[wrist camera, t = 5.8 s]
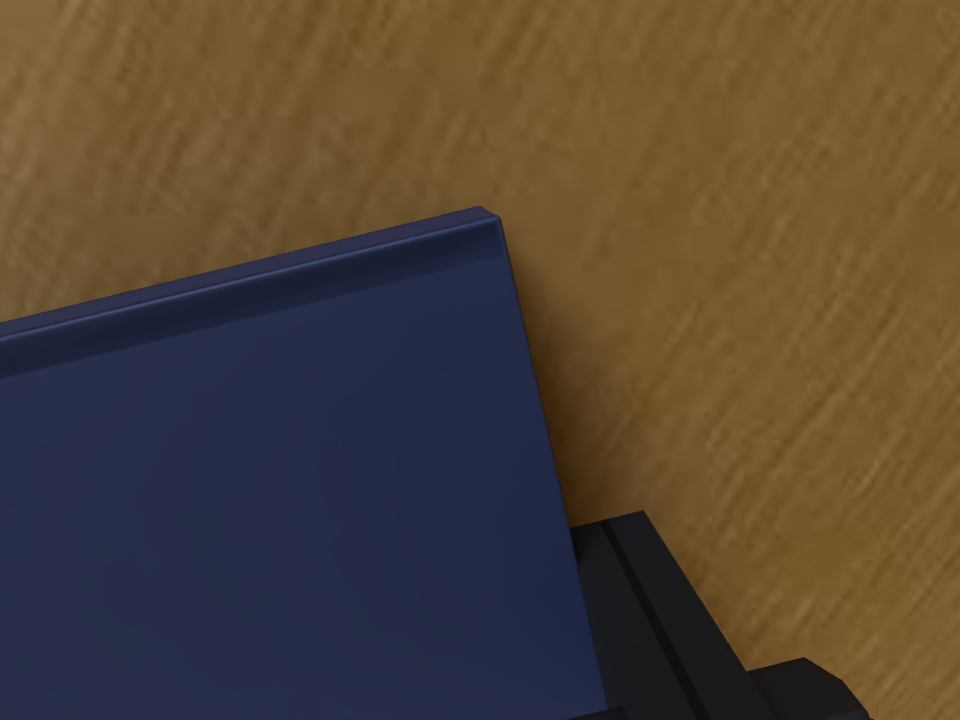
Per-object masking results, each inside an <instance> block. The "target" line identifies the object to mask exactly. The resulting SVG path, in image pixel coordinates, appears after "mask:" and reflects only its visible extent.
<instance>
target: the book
mask: <svg viewBox="0 0 960 720" xmlns="http://www.w3.org/2000/svg"><path fill="white" fill-rule="evenodd" d="M607 709H609V706H608V701H607V697H606V692H605V688H604V683H603V679H602V674H601V670H600V666H599V661H598V657H597V652H596V648H595V643H594V639H593V634H592V630H591V625H590V621H589V616H588V612H587V608H586V603H585V599H584V594H583V590H582V585H581V581H580V576H579V572H578V562H577V558H576V553H575V549H574V544H573V540H572V535H571V531H570V526H569V522H568V517H567V513H566V509H565V504H564V500H563V495H562V491H561V486H560V482H559V477H558V473H557V468H556V464H555V459H554V455H553V450H552V446H551V441H550V437H549V432H548V428H547V424H546V419H545V415H544V410H543V406H542V401H541V397H540V392H539V388H538V383H537V379H536V374H535V370H534V365H533V361H532V356H531V352H530V348H529V343H528V339H527V334H526V330H525V325H524V321H523V316H522V312H521V307H520V303H519V298H518V294H517V289H516V285H515V280H514V276H513V271H512V267H511V263H510V258H509V254H508V249H507V245H506V240H505V236H504V231H503V227H502V222H501V219H500V217H499V216H497V215H494V214H492V213H491V212H489V211H487V210H485V209H484V208H483V207H482V206H477V207H473V208H469V209H465V210H461V211H457V212H452V213H448V214H444V215H440V216H436V217H432V218H428V219H424V220H420V221H416V222H411V223H407V224H403V225H399V226H395V227H391V228H387V229H383V230H379V231H375V232H371V233H366V234H362V235H358V236H354V237H350V238H346V239H342V240H338V241H334V242H330V243H325V244H321V245H317V246H313V247H309V248H305V249H301V250H297V251H293V252H289V253H284V254H280V255H276V256H272V257H268V258H264V259H260V260H256V261H252V262H248V263H244V264H239V265H235V266H231V267H227V268H223V269H219V270H215V271H211V272H207V273H203V274H198V275H194V276H190V277H186V278H182V279H178V280H174V281H170V282H166V283H162V284H157V285H153V286H149V287H145V288H141V289H137V290H133V291H129V292H125V293H121V294H116V295H112V296H108V297H104V298H100V299H96V300H92V301H88V302H84V303H80V304H76V305H71V306H67V307H63V308H59V309H55V310H51V311H47V312H43V313H39V314H35V315H30V316H26V317H22V318H18V319H14V320H10V321H6V322H2V323H0V720H567V719H571V718H575V717H579V716H583V715H587V714H591V713H595V712H599V711H603V710H607Z"/></svg>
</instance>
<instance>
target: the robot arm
mask: <svg viewBox="0 0 960 720" xmlns="http://www.w3.org/2000/svg"><path fill="white" fill-rule="evenodd" d="M570 531H571V535H572V540H573V544H574V549H575V553H576V558H577V562H578V572H579V576H580V581H581V585H582V590H583V594H584V599H585V603H586V608H587V612H588V616H589V621H590V625H591V630H592V634H593V639H594V643H595V648H596V652H597V657H598V661H599V666H600V670H601V674H602V679H603V683H604V688H605V692H606V697H607V701H608V706H609V709H607V710H603V711H599V712H595V713H591V714H587V715H583V716H579V717H575V718H571V719H567V720H874V719H870V717H869V715H868V712H867V711H866V709H865V708H864V707H863V706H862V704H861V703H860V702H859V701H858V700H857V698H856V697H855V696H854V695H853V693H852V692H851V691H850V690H849V689H848V687H847V686H846V685H845V684H844V682H843V681H842V680H841V679H839V678H837V677H836V676H834V675H832V674H831V673H829V672H827V671H826V670H824V669H823V668H821V667H819V666H818V665H816V664H814V663H813V662H811V661H809V660H808V659H806V658H804V657H803V658H799V659H795V660H791V661H787V662H783V663H779V664H775V665H771V666H767V667H763V668H759V669H755V670H751V671H747V672H746V670H745V669H744V667H743V665H742V664H741V662H740V661H739V659H738V658H737V656H736V655H735V653H734V651H733V650H732V648H731V647H730V645H729V644H728V642H727V640H726V639H725V637H724V636H723V634H722V633H721V631H720V629H719V628H718V626H717V625H716V623H715V622H714V620H713V619H712V617H711V615H710V614H709V612H708V611H707V609H706V608H705V606H704V604H703V603H702V601H701V600H700V598H699V597H698V595H697V593H696V592H695V590H694V589H693V587H692V586H691V584H690V583H689V581H688V579H687V578H686V576H685V575H684V573H683V572H682V570H681V568H680V567H679V565H678V564H677V562H676V561H675V559H674V557H673V556H672V554H671V553H670V551H669V550H668V548H667V546H666V545H665V543H664V542H663V540H662V539H661V537H660V536H659V534H658V532H657V531H656V529H655V528H654V526H653V525H652V523H651V521H650V520H649V518H648V517H647V515H646V514H645V512H644V510H642V511H638V512H634V513H630V514H626V515H622V516H618V517H614V518H610V519H606V520H602V521H598V522H594V523H590V524H586V525H582V526H578V527H574V528H570Z"/></svg>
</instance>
